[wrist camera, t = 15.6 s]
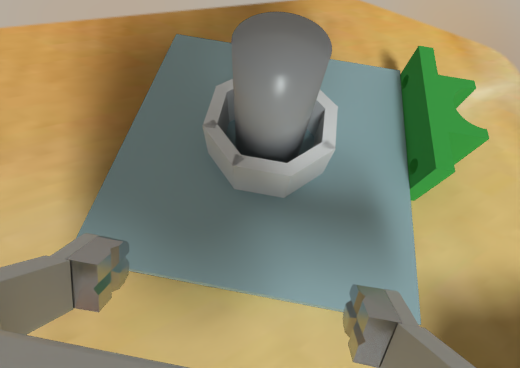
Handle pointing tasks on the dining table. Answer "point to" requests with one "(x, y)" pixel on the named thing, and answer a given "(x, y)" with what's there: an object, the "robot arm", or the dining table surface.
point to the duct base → (264, 188)
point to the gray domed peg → (276, 82)
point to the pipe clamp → (434, 122)
